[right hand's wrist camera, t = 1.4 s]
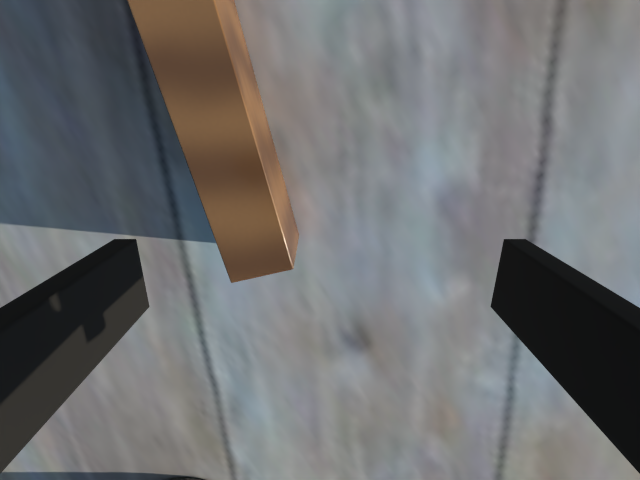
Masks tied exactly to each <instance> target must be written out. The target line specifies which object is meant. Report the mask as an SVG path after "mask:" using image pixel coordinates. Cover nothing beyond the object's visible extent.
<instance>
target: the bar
mask: <svg viewBox="0 0 640 480" xmlns="http://www.w3.org/2000/svg"><path fill="white" fill-rule="evenodd" d="M127 1H128V4H129V6H130V9H131V12H132V15H133V17H134V20H135V23H136V25H137V28H138V31H139V34H140V36H141V39H142V42H143V44H144V47H145V50H146V53H147V55H148V58H149V61H150V63H151V66H152V69H153V72H154V74H155V77H156V80H157V83H158V85H159V88H160V91H161V93H162V96H163V99H164V102H165V104H166V107H167V110H168V112H169V115H170V118H171V121H172V123H173V126H174V129H175V131H176V134H177V137H178V140H179V142H180V145H181V148H182V150H183V153H184V156H185V159H186V161H187V164H188V167H189V169H190V172H191V175H192V178H193V180H194V183H195V186H196V189H197V191H198V194H199V197H200V199H201V202H202V205H203V208H204V210H205V213H206V216H207V218H208V221H209V224H210V227H211V229H212V232H213V235H214V237H215V240H216V243H217V246H218V248H219V251H220V254H221V256H222V259H223V262H224V265H225V267H226V270H227V273H228V275H229V278H230V281H231V283H233V282H238V281H242V280H247V279H251V278H255V277H260V276H264V275H269V274H273V273H278V272H282V271H287V270H291V269H293V268H294V262H295V256H296V250H297V244H298V238H299V233H298V230H297V226H296V222H295V219H294V215H293V212H292V208H291V204H290V201H289V197H288V194H287V190H286V186H285V183H284V179H283V176H282V172H281V168H280V165H279V161H278V158H277V154H276V150H275V147H274V143H273V140H272V136H271V132H270V129H269V125H268V122H267V118H266V114H265V111H264V107H263V104H262V100H261V96H260V93H259V89H258V86H257V82H256V78H255V75H254V71H253V68H252V64H251V60H250V57H249V53H248V50H247V46H246V42H245V39H244V35H243V32H242V28H241V24H240V21H239V17H238V14H237V10H236V6H235V3H234V0H127Z"/></svg>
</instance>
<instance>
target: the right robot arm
mask: <svg viewBox="0 0 640 480" xmlns="http://www.w3.org/2000/svg"><path fill="white" fill-rule="evenodd" d="M148 308H149V303H148V298H147V292H146V287H145V282H144V277H143V272H142V267H141V262H140V257H139V252H138V247H137V242H136V239H114V240H112V241H111V242H109V243H107V244H106V245H104V246H102V247H101V248H99V249H97V250H96V251H94V252H93V253H91V254H89V255H88V256H86V257H84V258H83V259H81V260H79V261H78V262H76V263H74V264H73V265H71V266H69V267H68V268H66V269H64V270H63V271H61V272H59V273H58V274H56V275H54V276H53V277H51V278H49V279H48V280H46V281H44V282H43V283H41V284H39V285H38V286H36V287H34V288H33V289H31V290H29V291H28V292H26V293H24V294H23V295H21V296H19V297H18V298H16V299H14V300H13V301H11V302H9V303H8V304H6V305H5V306H3V307H1V308H0V473H1V472H2V471H3V470H4V469H5V468H6V467H7V465H8V464H9V463H10V462H11V461H12V460H13V459H14V458H15V457H16V455H17V454H18V453H19V452H20V451H21V450H22V449H23V448H24V446H25V445H26V444H27V443H28V442H29V441H30V440H31V439H32V437H33V436H34V435H35V434H36V433H37V432H38V431H39V430H40V429H41V427H42V426H43V425H44V424H45V423H46V422H47V421H48V420H49V418H50V417H51V416H52V415H53V414H54V413H55V412H56V411H57V409H58V408H59V407H60V406H61V405H62V404H63V403H64V402H65V401H66V399H67V398H68V397H69V396H70V395H71V394H72V393H73V392H74V390H75V389H76V388H77V387H78V386H79V385H80V384H81V383H82V381H83V380H84V379H85V378H86V377H87V376H88V375H89V374H90V373H91V371H92V370H93V369H94V368H95V367H96V366H97V365H98V364H99V362H100V361H101V360H102V359H103V358H104V357H105V356H106V355H107V353H108V352H109V351H110V350H111V349H112V348H113V347H114V346H115V345H116V343H117V342H118V341H119V340H120V339H121V338H122V337H123V336H124V334H125V333H126V332H127V331H128V330H129V329H130V328H131V327H132V325H133V324H134V323H135V322H136V321H137V320H138V319H139V318H140V317H141V315H142V314H143V313H144V312H145V311H146V310H147V309H148ZM491 308H492V309H493V310H494V311H495V312H496V313H497V314H498V315H499V317H500V318H501V319H502V320H503V321H504V322H505V323H506V324H507V325H508V327H509V328H510V329H511V330H512V331H513V332H514V333H515V334H516V336H517V337H518V338H519V339H520V340H521V341H522V342H523V343H524V345H525V346H526V347H527V348H528V349H529V350H530V351H531V352H532V353H533V355H534V356H535V357H536V358H537V359H538V360H539V361H540V362H541V364H542V365H543V366H544V367H545V368H546V369H547V370H548V371H549V373H550V374H551V375H552V376H553V377H554V378H555V379H556V380H557V381H558V383H559V384H560V385H561V386H562V387H563V388H564V389H565V390H566V392H567V393H568V394H569V395H570V396H571V397H572V398H573V399H574V401H575V402H576V403H577V404H578V405H579V406H580V407H581V408H582V409H583V411H584V412H585V413H586V414H587V415H588V416H589V417H590V418H591V420H592V421H593V422H594V423H595V424H596V425H597V426H598V427H599V429H600V430H601V431H602V432H603V433H604V434H605V435H606V436H607V437H608V439H609V440H610V441H611V442H612V443H613V444H614V445H615V446H616V448H617V449H618V450H619V451H620V452H621V453H622V454H623V455H624V457H625V458H626V459H627V460H628V461H629V462H630V463H631V464H632V465H633V467H634V468H635V469H636V470H637V471H638V472H639V473H640V308H639V307H637V306H635V305H634V304H632V303H630V302H629V301H627V300H626V299H624V298H622V297H621V296H619V295H617V294H616V293H614V292H612V291H611V290H609V289H607V288H606V287H604V286H602V285H601V284H599V283H597V282H596V281H594V280H592V279H591V278H589V277H587V276H586V275H584V274H582V273H581V272H579V271H577V270H576V269H574V268H572V267H571V266H569V265H567V264H566V263H564V262H562V261H561V260H559V259H557V258H556V257H554V256H552V255H551V254H549V253H547V252H546V251H544V250H543V249H541V248H539V247H538V246H536V245H534V244H533V243H531V242H529V241H528V240H526V239H504V242H503V247H502V252H501V257H500V262H499V267H498V272H497V277H496V282H495V287H494V292H493V298H492V303H491ZM172 480H200V479H191V478H181V479H172Z"/></svg>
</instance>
